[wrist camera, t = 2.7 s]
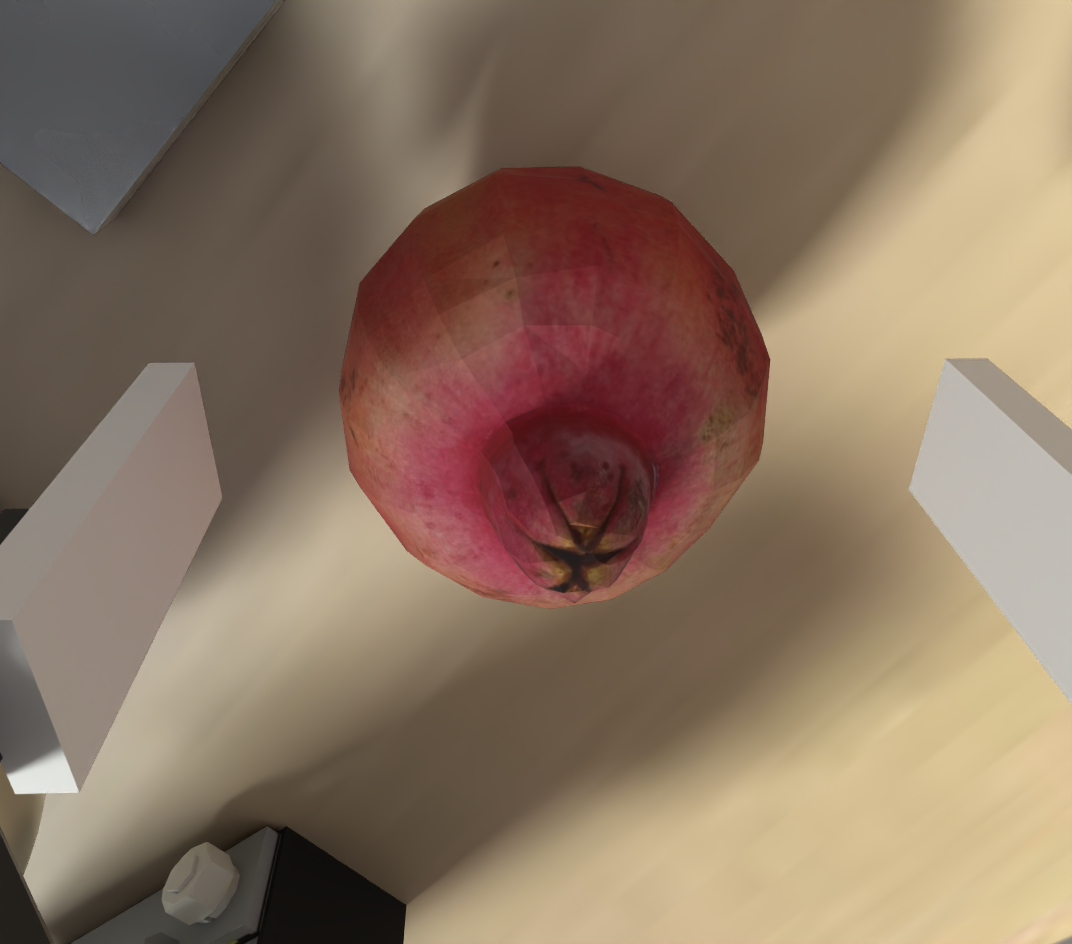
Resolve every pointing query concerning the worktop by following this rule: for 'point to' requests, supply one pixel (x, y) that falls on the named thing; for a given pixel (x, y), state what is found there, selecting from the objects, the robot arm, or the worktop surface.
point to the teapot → (19, 819)
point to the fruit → (552, 386)
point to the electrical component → (259, 900)
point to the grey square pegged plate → (109, 89)
